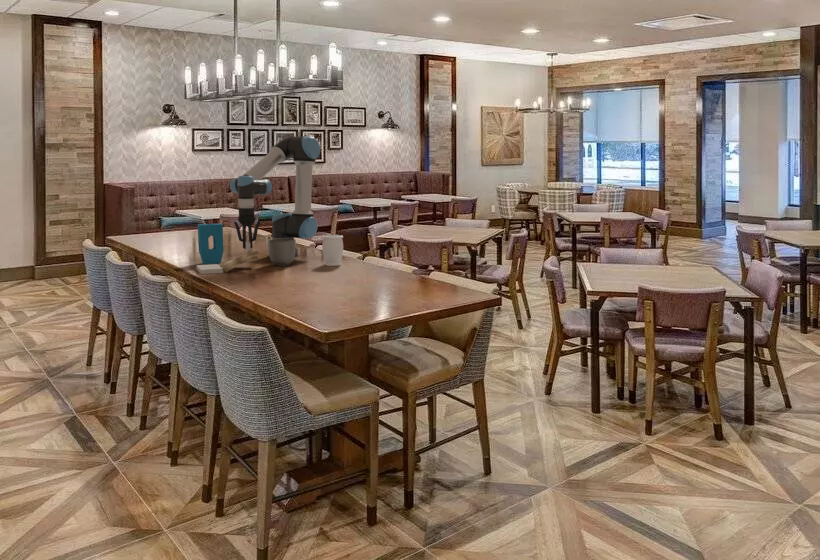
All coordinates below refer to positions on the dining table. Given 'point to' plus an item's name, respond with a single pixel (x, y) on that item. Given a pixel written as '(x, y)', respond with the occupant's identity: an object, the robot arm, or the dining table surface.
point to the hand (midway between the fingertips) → (247, 255)
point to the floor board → (209, 269)
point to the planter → (282, 251)
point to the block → (203, 234)
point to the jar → (332, 249)
